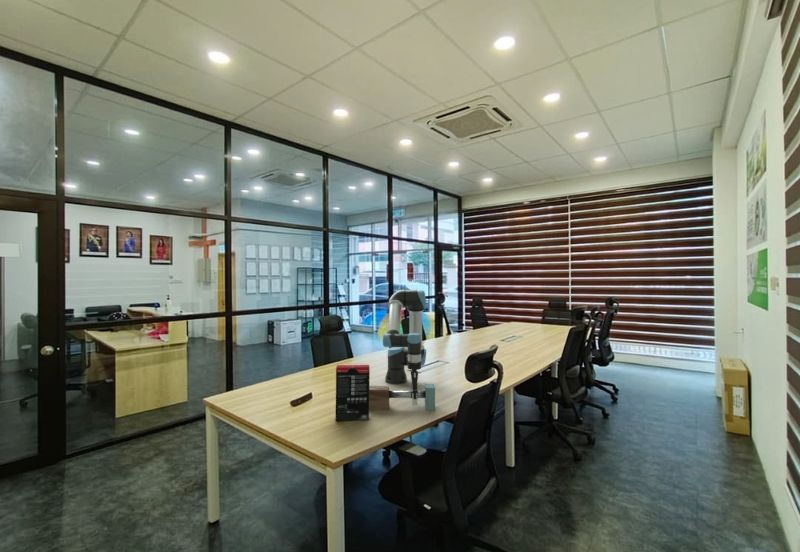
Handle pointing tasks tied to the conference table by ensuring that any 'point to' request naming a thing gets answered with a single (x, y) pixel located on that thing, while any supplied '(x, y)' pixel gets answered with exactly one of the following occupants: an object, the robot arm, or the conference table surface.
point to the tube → (406, 394)
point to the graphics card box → (352, 392)
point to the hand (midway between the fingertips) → (414, 400)
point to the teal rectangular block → (430, 397)
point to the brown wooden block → (378, 397)
